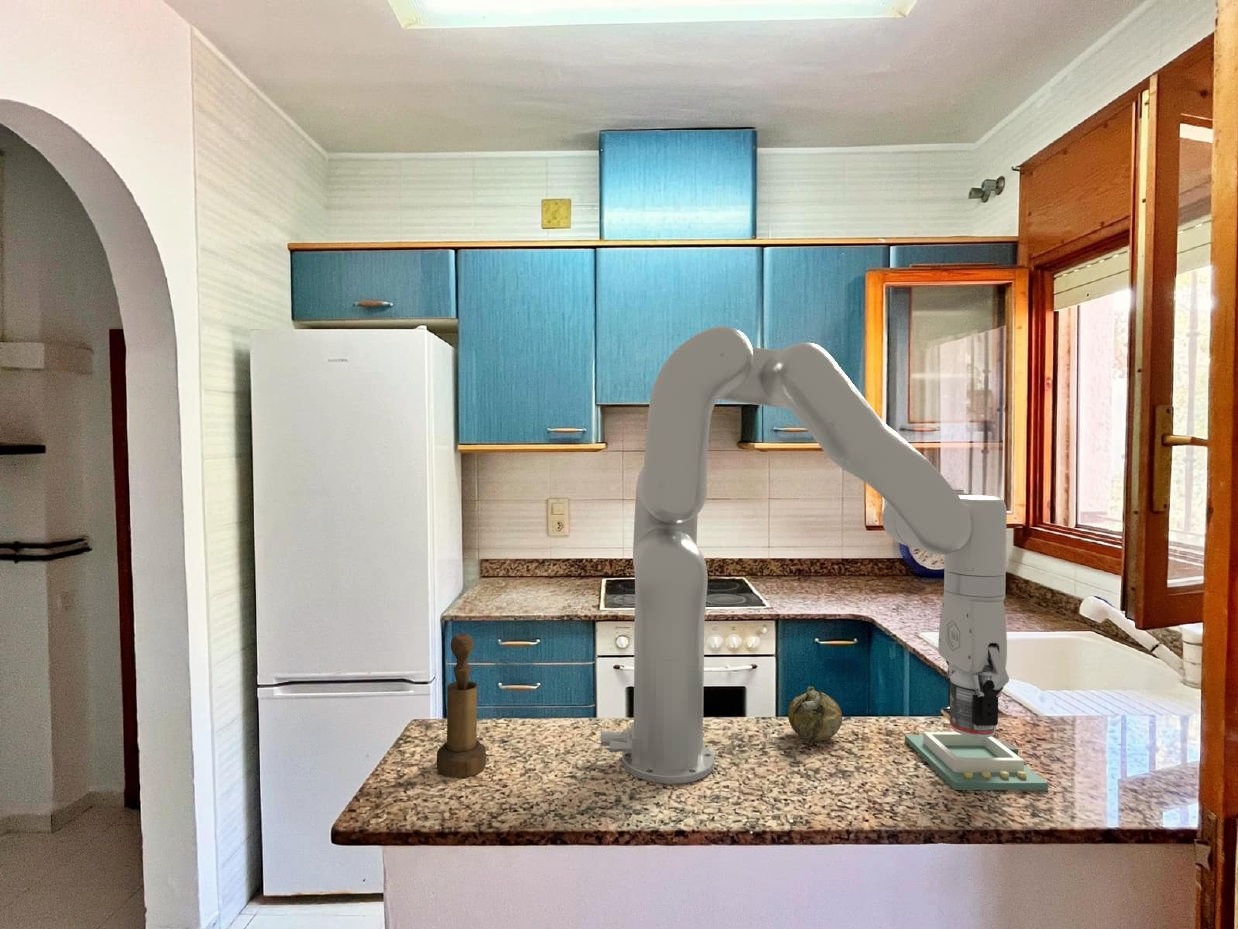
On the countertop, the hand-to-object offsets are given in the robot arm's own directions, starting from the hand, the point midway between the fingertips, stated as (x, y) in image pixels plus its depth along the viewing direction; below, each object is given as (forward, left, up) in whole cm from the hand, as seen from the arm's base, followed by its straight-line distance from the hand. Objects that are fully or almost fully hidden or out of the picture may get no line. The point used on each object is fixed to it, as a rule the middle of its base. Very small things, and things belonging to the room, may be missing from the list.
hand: (972, 714), depth 97 cm
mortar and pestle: (-70, -1, -7) cm, 70 cm away
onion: (-19, +9, -7) cm, 22 cm away
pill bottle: (0, 0, -3) cm, 3 cm away
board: (0, 0, -7) cm, 7 cm away
